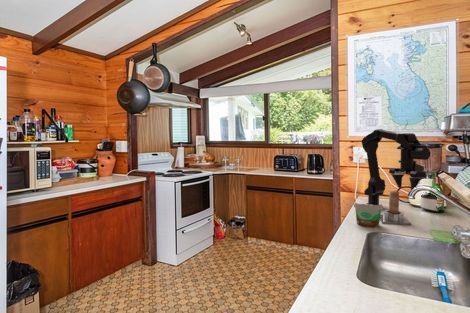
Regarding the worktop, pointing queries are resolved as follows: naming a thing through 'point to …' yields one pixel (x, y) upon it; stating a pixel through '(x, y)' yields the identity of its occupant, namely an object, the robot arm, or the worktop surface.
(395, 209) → the brown wooden cylinder
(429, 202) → the spread jar
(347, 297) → the worktop surface
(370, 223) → the food container
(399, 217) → the bracket
